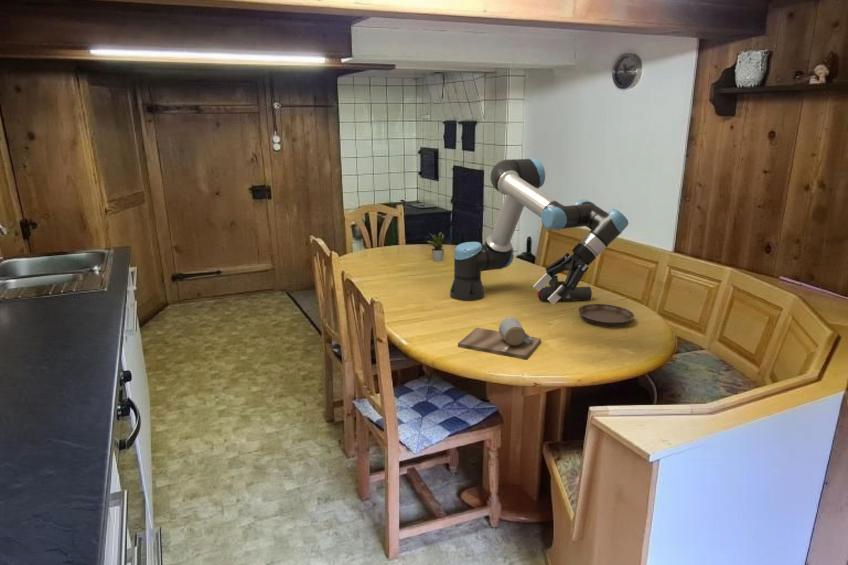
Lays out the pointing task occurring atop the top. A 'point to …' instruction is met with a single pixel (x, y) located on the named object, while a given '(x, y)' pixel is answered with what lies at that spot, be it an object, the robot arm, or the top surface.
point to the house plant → (437, 247)
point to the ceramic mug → (513, 332)
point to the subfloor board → (497, 344)
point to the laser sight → (577, 294)
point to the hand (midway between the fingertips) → (542, 295)
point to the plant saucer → (605, 315)
